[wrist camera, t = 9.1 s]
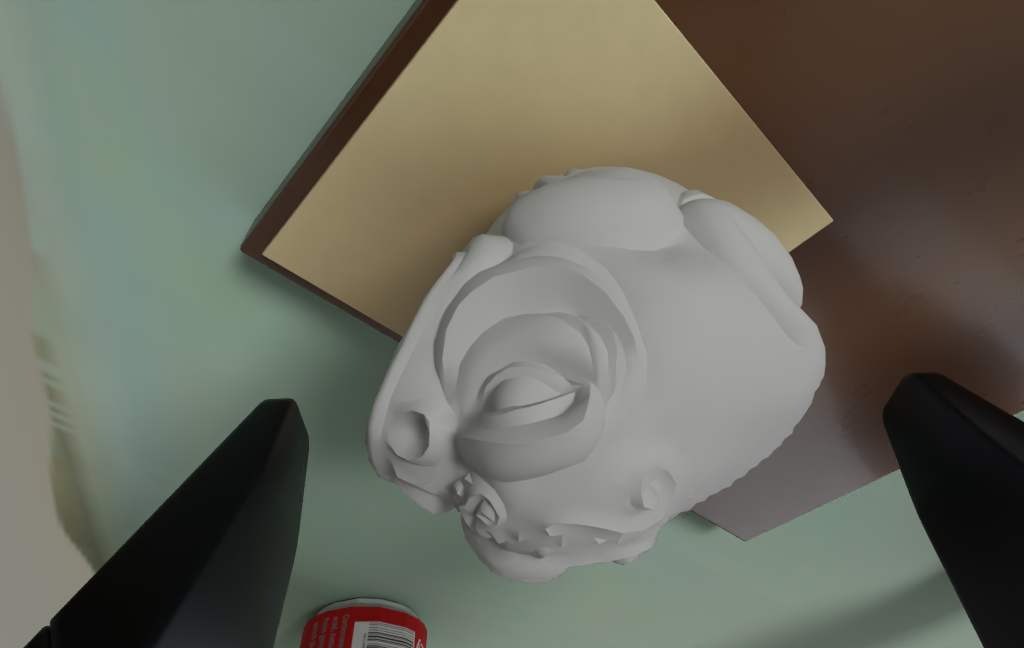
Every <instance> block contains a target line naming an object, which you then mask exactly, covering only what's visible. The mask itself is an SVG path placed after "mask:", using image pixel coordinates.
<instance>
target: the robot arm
mask: <svg viewBox="0 0 1024 648" xmlns="http://www.w3.org/2000/svg"><path fill="white" fill-rule="evenodd" d="M882 419H883V424H884V427H885V430H886V432H887V435H888V438H889V440H890V443H891V446H892V448H893V451H894V454H895V456H896V459H897V462H898V464H899V467H900V470H901V472H902V475H903V478H904V480H905V483H906V486H907V488H908V491H909V494H910V496H911V499H912V501H913V504H914V506H915V509H916V511H917V514H918V516H919V518H920V520H921V522H922V525H923V527H924V529H925V531H926V533H927V535H928V537H929V539H930V541H931V543H932V545H933V547H934V549H935V551H936V553H937V555H938V557H939V559H940V561H941V563H942V565H943V567H944V569H945V571H946V573H947V575H948V577H949V579H950V581H951V583H952V585H953V587H954V589H955V591H956V593H957V595H958V597H959V599H960V601H961V603H962V605H963V607H964V609H965V611H966V613H967V615H968V617H969V619H970V621H971V623H972V625H973V627H974V629H975V631H976V633H977V635H978V637H979V639H980V641H981V643H982V645H983V647H984V648H1024V422H1023V421H1021V420H1019V419H1018V418H1016V417H1014V416H1013V415H1011V414H1009V413H1007V412H1006V411H1004V410H1002V409H1001V408H999V407H997V406H995V405H994V404H992V403H990V402H989V401H987V400H985V399H984V398H982V397H980V396H978V395H977V394H975V393H973V392H972V391H970V390H968V389H966V388H965V387H963V386H961V385H960V384H958V383H956V382H955V381H953V380H951V379H949V378H948V377H946V376H944V375H942V374H940V373H936V372H919V373H909V374H907V375H906V376H904V377H903V379H902V380H901V381H900V383H899V385H898V386H897V388H896V389H895V391H894V392H893V394H892V396H891V397H890V399H889V400H888V402H887V403H886V405H885V407H884V409H883V413H882ZM308 453H309V437H308V433H307V430H306V427H305V424H304V422H303V419H302V416H301V413H300V411H299V408H298V405H297V403H296V402H295V401H294V400H293V399H290V398H284V399H267V400H264V401H263V402H261V403H260V404H259V405H258V406H257V407H256V408H255V409H254V410H253V411H252V412H251V413H250V414H249V415H248V416H247V417H246V418H245V419H244V420H243V421H242V422H241V423H240V424H239V426H238V427H237V428H236V429H235V430H234V431H233V432H232V433H231V434H230V435H229V436H228V437H227V438H226V439H225V440H224V441H223V442H222V443H221V444H220V445H219V446H218V447H217V448H216V449H215V450H214V451H213V452H212V453H211V455H210V456H209V457H208V458H207V459H206V460H205V461H204V462H203V463H202V464H201V465H200V466H199V467H198V468H197V469H196V470H195V471H194V472H193V473H192V474H191V475H190V476H189V477H188V478H187V479H186V480H185V481H184V482H183V484H182V485H181V486H180V487H179V488H178V489H177V490H176V491H175V492H174V493H173V494H172V495H171V496H170V497H169V498H168V499H167V500H166V501H165V502H164V503H163V504H162V505H161V506H160V507H159V508H158V509H157V510H156V511H155V513H154V514H153V515H152V516H151V517H150V518H149V519H148V520H147V521H146V522H145V523H144V524H143V525H142V526H141V527H140V528H139V529H138V530H137V531H136V532H135V533H134V534H133V535H132V536H131V537H130V538H129V539H128V540H127V542H126V543H125V544H124V545H123V546H122V547H121V548H120V549H119V550H118V551H117V552H116V553H115V554H114V555H113V556H112V557H111V558H110V559H109V560H108V561H107V562H106V563H105V564H104V565H103V566H102V567H101V568H100V569H99V571H98V572H97V573H96V574H95V575H94V576H93V577H92V578H91V579H90V580H89V581H88V582H87V583H86V584H85V585H84V586H83V587H82V588H81V589H80V590H79V591H78V592H77V593H76V594H75V596H73V597H72V598H71V600H70V601H69V602H68V603H67V604H66V605H65V606H64V607H63V608H62V609H61V610H60V611H59V612H58V613H57V614H56V615H55V616H54V617H53V618H52V619H51V621H50V626H45V627H44V628H42V629H41V630H40V631H39V632H38V633H37V635H35V636H34V637H33V639H32V640H31V641H30V642H29V643H28V644H27V645H26V646H25V647H24V648H273V646H274V642H275V638H276V633H277V629H278V625H279V621H280V617H281V613H282V609H283V604H284V600H285V596H286V592H287V588H288V584H289V580H290V575H291V571H292V567H293V563H294V558H295V553H296V549H297V542H298V535H299V527H300V519H301V511H302V503H303V494H304V486H305V478H306V470H307V462H308Z"/></svg>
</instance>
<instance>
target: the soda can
mask: <svg viewBox="0 0 1024 648" xmlns="http://www.w3.org/2000/svg"><path fill="white" fill-rule="evenodd" d="M426 641H427V630H426V627H425V625H424V623H422V622H421V621H420V620H419V619H418V617H417V615H416V614H415V613H414V612H413V611H412V610H411V609H410V608H408V607H406V606H404V605H402V604H398V603H394V602H390V601H386V600H383V599H365V598H358V599H352V600H347V601H341V602H336V603H334V604H331V605H329V606H326V607H325V608H323V609H322V610H321V611H319V613H318V614H317V615H316V616H315V617H313V618H312V619H310V620H309V621H308V622H307V624H306V626H305V627H304V630H303V635H302V640H301V645H300V648H426Z"/></svg>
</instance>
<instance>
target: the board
mask: <svg viewBox="0 0 1024 648" xmlns="http://www.w3.org/2000/svg"><path fill="white" fill-rule="evenodd" d="M571 167H572V168H575V169H578V170H581V169H587V168H593V167H629V168H633V169H638V170H642V171H646V172H650V173H654V174H657V175H660V176H662V177H664V178H667V179H669V180H671V181H673V182H676V183H678V184H679V185H681V186H683V187H684V188H686V189H687V190H689V191H690V190H695V189H696V190H699V191H701V192H703V193H705V194H707V195H709V196H711V197H713V198H715V199H718V200H724V201H727V202H730V203H732V204H734V205H735V206H737V207H739V208H740V209H742V210H743V211H745V212H747V213H748V214H750V215H751V216H753V217H755V218H756V219H757V220H759V221H760V222H761V223H762V224H763V225H764V226H765V227H767V228H768V229H769V230H770V231H771V232H772V233H773V234H774V235H775V236H776V237H777V239H778V240H779V241H780V243H781V244H782V245H783V246H784V248H785V249H786V250H787V252H788V253H789V254H790V256H791V257H792V259H793V261H794V264H795V266H796V268H797V271H798V273H799V275H800V278H801V282H802V286H803V298H802V305H801V307H800V308H801V309H802V310H803V311H804V312H805V313H806V314H807V315H808V317H809V318H810V319H811V320H812V321H813V322H814V323H815V324H816V325H817V327H818V330H819V333H820V335H821V338H822V341H823V343H824V346H825V372H824V377H823V379H822V380H821V383H820V386H819V387H818V389H817V390H816V391H815V393H814V397H813V399H812V403H811V405H810V406H809V408H808V409H807V411H806V413H805V414H804V416H803V417H802V419H801V420H800V422H799V423H798V424H796V426H795V427H794V428H793V432H792V434H791V435H789V436H788V437H786V438H785V439H784V440H783V442H782V444H781V445H780V446H779V447H778V448H776V449H775V450H774V451H773V452H772V454H770V455H769V457H768V458H765V459H763V460H762V461H761V462H760V463H759V464H758V465H757V466H756V467H754V468H752V469H750V470H749V471H748V472H747V473H746V475H745V476H743V477H741V478H739V479H736V480H735V481H734V482H733V484H732V485H731V486H730V487H727V488H724V489H722V490H720V491H719V492H718V493H716V494H713V495H710V496H709V497H708V498H707V499H706V500H705V501H702V502H699V503H696V504H695V505H694V506H693V507H692V509H691V511H693V512H695V513H696V514H698V515H700V516H702V517H703V518H705V519H707V520H708V521H710V522H712V523H714V524H715V525H717V526H719V527H721V528H722V529H724V530H726V531H728V532H729V533H731V534H733V535H734V536H736V537H738V538H740V539H741V540H743V541H748V540H750V539H752V538H754V537H756V536H758V535H760V534H762V533H764V532H767V531H769V530H771V529H773V528H775V527H777V526H779V525H781V524H784V523H786V522H788V521H790V520H792V519H794V518H796V517H798V516H800V515H803V514H805V513H807V512H809V511H811V510H813V509H815V508H817V507H820V506H822V505H824V504H826V503H828V502H830V501H832V500H834V499H836V498H839V497H841V496H843V495H845V494H847V493H849V492H851V491H853V490H855V489H858V488H860V487H862V486H864V485H866V484H868V483H870V482H872V481H875V480H877V479H879V478H881V477H883V476H885V475H887V474H889V473H891V472H894V471H896V470H898V469H900V467H899V464H898V462H897V459H896V456H895V454H894V451H893V448H892V446H891V443H890V440H889V438H888V435H887V432H886V430H885V427H884V424H883V419H882V413H883V409H884V407H885V405H886V403H887V402H888V400H889V399H890V397H891V396H892V394H893V392H894V391H895V389H896V388H897V386H898V385H899V383H900V381H901V380H902V379H903V377H904V376H906V375H907V374H909V373H919V372H936V373H940V374H942V375H944V376H946V377H948V378H949V379H951V380H953V381H955V382H956V383H958V384H960V385H961V386H963V387H965V388H966V389H968V390H970V391H972V392H973V393H975V394H977V395H978V396H980V397H982V398H984V399H985V400H987V401H989V402H990V403H992V404H994V405H995V406H997V407H999V408H1001V409H1002V410H1004V411H1006V412H1007V413H1009V414H1011V415H1014V414H1016V413H1018V412H1021V411H1023V410H1024V0H416V1H415V2H414V4H413V5H412V6H411V8H410V9H409V11H408V12H407V13H406V15H405V16H404V17H403V19H402V20H401V21H400V23H399V24H398V25H397V27H396V28H395V30H394V31H393V32H392V34H391V35H390V36H389V38H388V39H387V40H386V42H385V43H384V45H383V46H382V47H381V49H380V50H379V51H378V53H377V54H376V55H375V57H374V58H373V60H372V61H371V62H370V64H369V65H368V66H367V68H366V69H365V70H364V72H363V73H362V75H361V76H360V77H359V79H358V80H357V81H356V83H355V84H354V85H353V87H352V88H351V90H350V91H349V92H348V94H347V95H346V96H345V98H344V99H343V100H342V102H341V103H340V105H339V106H338V107H337V109H336V110H335V111H334V113H333V114H332V115H331V117H330V118H329V120H328V121H327V122H326V124H325V125H324V126H323V128H322V129H321V130H320V132H319V133H318V135H317V136H316V137H315V139H314V140H313V141H312V143H311V144H310V145H309V147H308V148H307V150H306V151H305V152H304V154H303V155H302V156H301V158H300V159H299V160H298V162H297V163H296V165H295V166H294V167H293V169H292V170H291V171H290V173H289V174H288V175H287V177H286V178H285V180H284V181H283V182H282V184H281V185H280V186H279V188H278V189H277V190H276V192H275V193H274V194H273V196H272V197H271V199H270V200H269V201H268V203H267V204H266V205H265V207H264V208H263V209H262V211H261V212H260V214H259V215H258V216H257V218H256V219H255V220H254V222H253V224H252V226H251V228H250V229H249V231H248V233H247V235H246V237H245V239H244V241H243V243H242V244H241V248H240V250H241V251H242V252H243V253H245V254H247V255H249V256H250V257H252V258H254V259H256V260H257V261H259V262H261V263H262V264H264V265H266V266H268V267H269V268H271V269H273V270H275V271H276V272H278V273H280V274H282V275H283V276H285V277H287V278H288V279H290V280H292V281H294V282H295V283H297V284H299V285H301V286H302V287H304V288H306V289H308V290H309V291H311V292H313V293H315V294H316V295H318V296H320V297H321V298H323V299H325V300H327V301H328V302H330V303H332V304H334V305H335V306H337V307H339V308H341V309H342V310H344V311H346V312H347V313H349V314H351V315H353V316H354V317H356V318H358V319H360V320H361V321H363V322H365V323H367V324H368V325H370V326H372V327H374V328H375V329H377V330H379V331H380V332H382V333H384V334H386V335H387V336H389V337H391V338H393V339H394V340H396V341H398V342H400V341H401V339H402V338H403V336H404V335H405V333H406V332H407V330H408V329H409V327H410V325H411V323H412V321H413V319H414V317H415V315H416V313H417V311H418V309H419V307H420V305H421V303H422V301H423V299H424V297H425V296H426V295H427V293H428V292H429V291H430V289H431V288H432V287H433V285H434V284H435V283H436V282H437V280H438V279H439V278H440V276H441V275H442V274H443V273H444V271H445V270H446V269H447V267H448V266H449V265H450V264H451V262H452V258H453V255H454V254H455V253H456V252H462V250H463V249H464V248H465V247H466V245H467V244H468V243H469V241H470V240H471V239H472V238H473V237H476V236H479V235H481V234H486V233H487V232H488V230H489V229H490V228H491V226H492V225H493V224H494V222H495V221H496V220H497V218H498V217H499V216H500V215H501V214H502V213H503V212H504V211H505V210H506V209H507V208H508V207H509V206H510V205H511V204H512V203H513V202H514V201H513V197H514V196H515V194H516V193H517V192H522V191H529V190H531V189H532V188H533V185H534V183H535V182H536V180H537V179H539V178H541V177H543V176H545V175H554V176H559V175H562V174H565V173H567V171H568V169H570V168H571Z"/></svg>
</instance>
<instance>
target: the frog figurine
mask: <svg viewBox="0 0 1024 648" xmlns="http://www.w3.org/2000/svg"><path fill="white" fill-rule="evenodd" d="M513 201H514V202H513V203H512V204H511V205H510V206H509V207H508V208H507V209H506V210H505V211H504V212H503V213H502V214H501V215H500V216H499V217H498V218H497V220H496V221H495V222H494V224H493V225H492V226H491V228H490V229H489V230H488V232H487V233H486V234H481V235H479V236H476V237H473V238H472V239H471V240H470V241H469V243H468V244H467V245H466V247H465V248H464V249H463V250H462V252H456V253H455V254H454V255H453V258H452V262H451V264H450V265H449V266H448V267H447V269H446V270H445V271H444V273H443V274H442V275H441V276H440V278H439V279H438V280H437V282H436V283H435V284H434V285H433V287H432V288H431V289H430V291H429V292H428V293H427V295H426V296H425V297H424V299H423V301H422V303H421V305H420V307H419V309H418V311H417V313H416V315H415V317H414V319H413V321H412V323H411V325H410V327H409V329H408V330H407V332H406V333H405V335H404V336H403V338H402V339H401V341H400V342H399V344H398V346H397V348H396V350H395V353H394V355H393V357H392V359H391V362H390V364H389V366H388V369H387V371H386V374H385V377H384V380H383V383H382V385H381V387H380V389H379V391H378V393H377V396H376V398H375V400H374V403H373V406H372V409H371V413H370V416H369V420H368V423H367V431H366V447H367V451H368V454H369V461H370V463H371V464H372V466H373V468H374V469H375V471H376V473H377V475H378V477H380V478H382V479H384V480H387V481H389V482H393V483H396V485H397V486H398V487H399V488H400V489H401V490H402V491H403V492H404V493H405V494H406V495H407V496H408V497H409V498H410V499H412V500H413V501H414V502H415V503H416V504H418V505H420V506H421V507H423V508H424V509H426V510H427V511H429V512H431V513H433V514H434V515H439V514H442V513H444V512H447V511H449V510H451V509H453V508H455V507H456V508H457V510H458V512H460V511H461V521H462V527H463V530H464V534H465V537H466V540H467V541H468V542H469V544H470V545H471V547H472V548H473V550H474V551H475V553H476V554H477V556H478V557H479V559H480V560H481V561H482V562H483V563H484V564H485V565H486V566H487V567H488V568H489V569H490V570H491V571H492V572H494V573H496V574H498V575H500V576H502V577H504V578H506V579H508V580H510V581H518V582H535V583H543V582H546V581H549V580H552V579H554V578H555V577H557V576H559V575H561V574H562V573H563V572H564V571H565V570H566V569H567V568H568V567H569V566H580V565H591V564H597V563H603V562H608V561H613V562H615V563H617V564H621V565H625V564H628V563H631V562H633V561H634V560H635V559H636V558H637V556H638V554H640V553H642V552H644V551H646V550H648V549H650V548H651V547H652V546H653V545H654V544H655V540H656V536H657V533H658V531H659V529H660V528H661V527H662V525H663V524H664V523H665V522H667V520H670V519H672V518H675V517H676V516H677V515H678V514H679V513H681V512H686V511H690V510H691V509H692V507H693V506H694V505H695V504H696V503H699V502H702V501H705V500H706V499H707V498H708V497H709V496H710V495H713V494H716V493H718V492H719V491H720V490H722V489H724V488H727V487H730V486H731V485H732V484H733V482H734V481H735V480H736V479H739V478H741V477H743V476H745V475H746V473H747V472H748V471H749V470H750V469H752V468H754V467H756V466H757V465H758V464H759V463H760V462H761V461H762V460H763V459H765V458H768V457H769V455H770V454H772V452H773V451H774V450H775V449H776V448H778V447H779V446H780V445H781V444H782V442H783V440H784V439H785V438H786V437H788V436H789V435H791V434H792V432H793V428H794V427H795V426H796V424H798V423H799V422H800V420H801V419H802V417H803V416H804V414H805V413H806V411H807V409H808V408H809V406H810V405H811V403H812V399H813V397H814V393H815V391H816V390H817V389H818V387H819V386H820V383H821V380H822V379H823V377H824V372H825V346H824V343H823V341H822V338H821V335H820V333H819V330H818V327H817V325H816V324H815V323H814V322H813V321H812V320H811V319H810V318H809V317H808V315H807V314H806V313H805V312H804V311H803V310H802V309H801V308H800V307H801V305H802V298H803V286H802V282H801V278H800V275H799V273H798V271H797V268H796V266H795V264H794V261H793V259H792V257H791V256H790V254H789V253H788V252H787V250H786V249H785V248H784V246H783V245H782V244H781V243H780V241H779V240H778V239H777V237H776V236H775V235H774V234H773V233H772V232H771V231H770V230H769V229H768V228H767V227H765V226H764V225H763V224H762V223H761V222H760V221H759V220H757V219H756V218H755V217H753V216H751V215H750V214H748V213H747V212H745V211H743V210H742V209H740V208H739V207H737V206H735V205H734V204H732V203H730V202H727V201H724V200H718V199H715V198H713V197H711V196H709V195H707V194H705V193H703V192H701V191H699V190H696V189H695V190H690V191H689V190H687V189H686V188H684V187H683V186H681V185H679V184H678V183H676V182H673V181H671V180H669V179H667V178H664V177H662V176H660V175H657V174H654V173H650V172H646V171H642V170H638V169H633V168H629V167H593V168H587V169H581V170H578V169H575V168H572V167H571V168H570V169H568V171H567V173H565V174H562V175H559V176H554V175H545V176H543V177H541V178H539V179H537V180H536V182H535V183H534V185H533V188H532V189H531V190H529V191H522V192H517V193H516V194H515V196H514V197H513Z"/></svg>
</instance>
